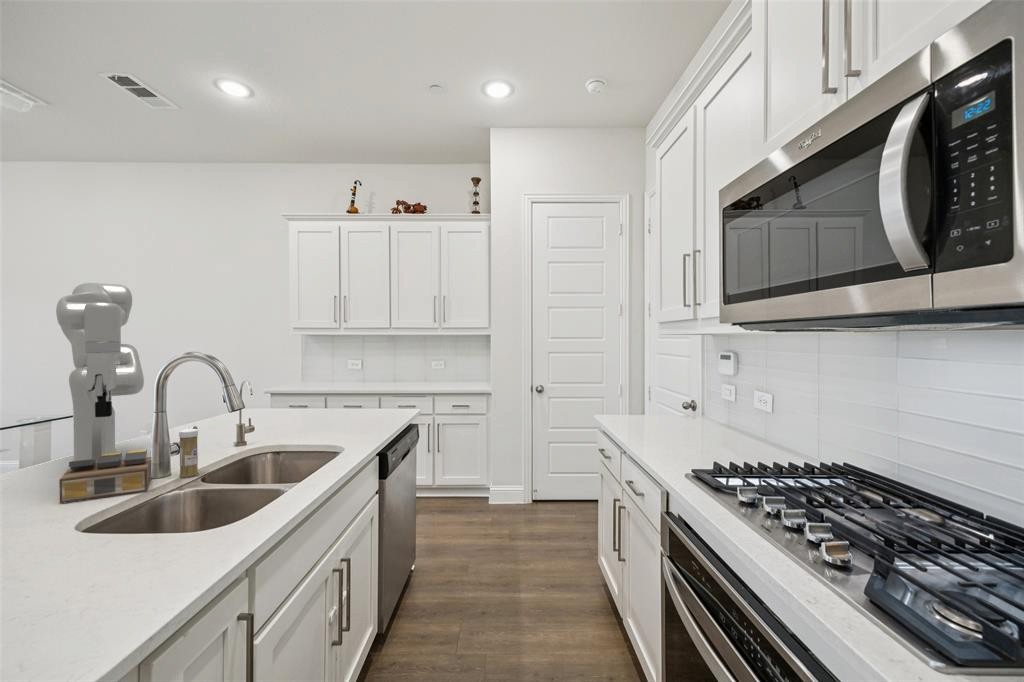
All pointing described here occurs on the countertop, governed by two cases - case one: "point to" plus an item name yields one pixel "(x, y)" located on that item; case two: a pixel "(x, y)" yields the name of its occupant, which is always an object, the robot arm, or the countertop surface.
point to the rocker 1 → (82, 463)
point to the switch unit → (104, 481)
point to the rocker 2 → (109, 460)
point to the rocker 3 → (135, 457)
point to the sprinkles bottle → (188, 452)
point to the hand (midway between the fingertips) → (103, 416)
